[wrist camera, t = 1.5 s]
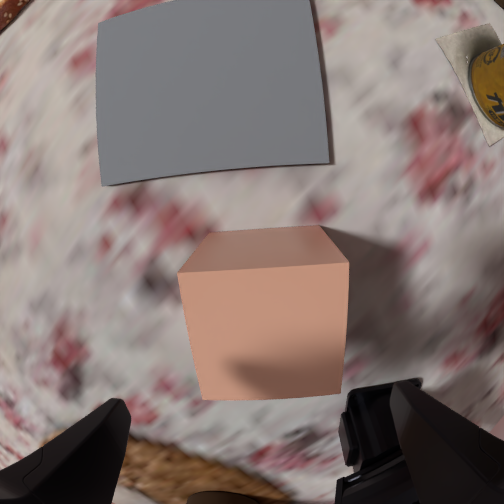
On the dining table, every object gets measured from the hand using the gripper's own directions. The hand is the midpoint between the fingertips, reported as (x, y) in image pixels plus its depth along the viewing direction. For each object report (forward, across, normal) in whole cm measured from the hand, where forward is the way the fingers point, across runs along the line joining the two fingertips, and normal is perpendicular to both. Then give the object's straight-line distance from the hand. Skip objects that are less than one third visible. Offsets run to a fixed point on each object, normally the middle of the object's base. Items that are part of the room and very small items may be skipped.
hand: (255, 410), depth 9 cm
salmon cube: (+11, -1, 0) cm, 11 cm away
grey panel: (+12, +2, -13) cm, 17 cm away
